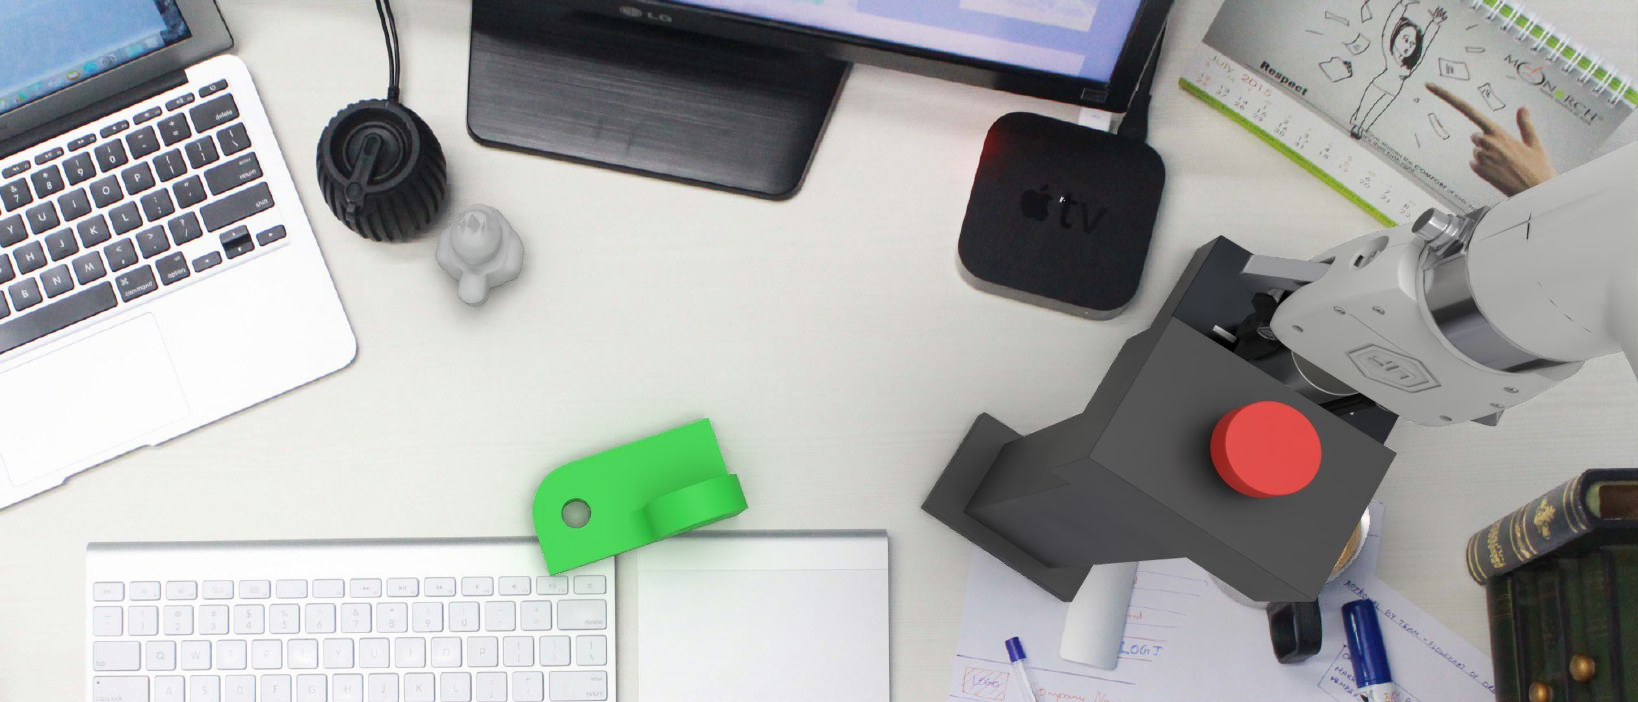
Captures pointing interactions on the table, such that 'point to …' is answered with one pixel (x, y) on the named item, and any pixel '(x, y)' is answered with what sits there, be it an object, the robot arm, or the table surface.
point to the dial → (1302, 375)
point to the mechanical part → (636, 496)
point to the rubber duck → (480, 252)
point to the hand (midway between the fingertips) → (1293, 365)
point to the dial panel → (1237, 313)
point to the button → (1266, 449)
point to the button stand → (1158, 479)
